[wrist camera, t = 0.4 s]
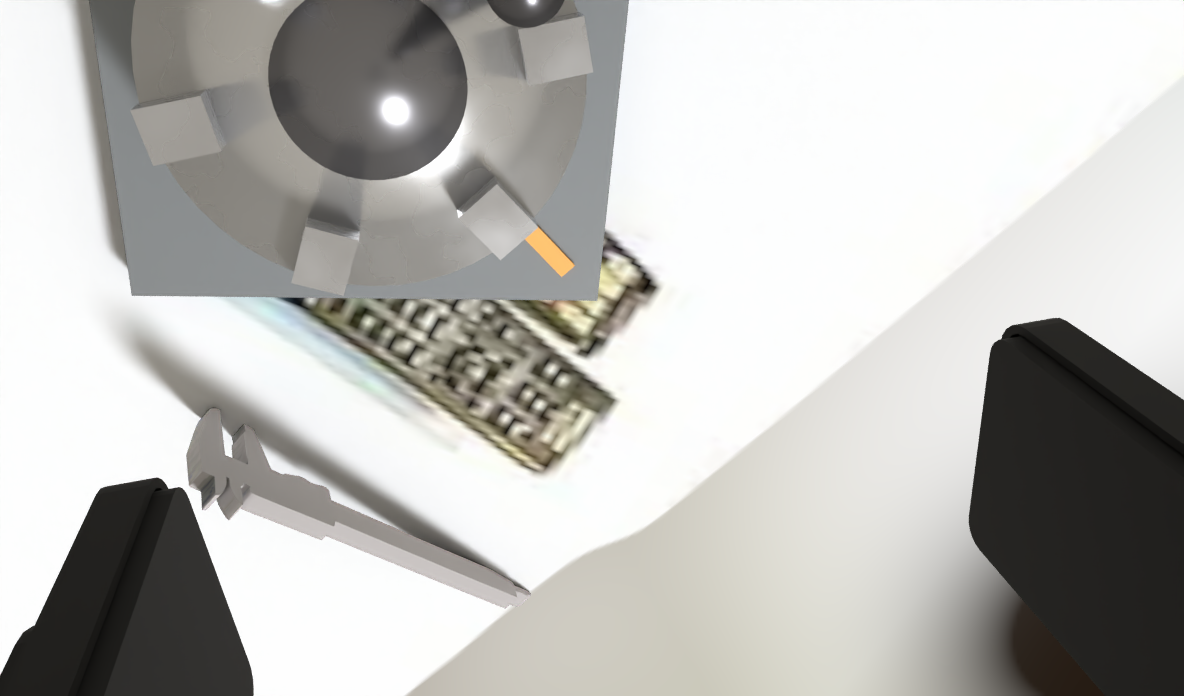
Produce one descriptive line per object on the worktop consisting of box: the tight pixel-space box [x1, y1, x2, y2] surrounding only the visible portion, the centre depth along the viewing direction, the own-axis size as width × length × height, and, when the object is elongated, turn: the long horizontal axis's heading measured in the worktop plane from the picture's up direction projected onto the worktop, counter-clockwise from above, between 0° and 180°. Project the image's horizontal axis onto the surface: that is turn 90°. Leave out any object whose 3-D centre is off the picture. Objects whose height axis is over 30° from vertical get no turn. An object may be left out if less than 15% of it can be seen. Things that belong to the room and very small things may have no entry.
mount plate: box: [89, 0, 629, 301], centre depth 37 cm, size 20×20×2 cm
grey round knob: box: [130, 0, 593, 296], centre depth 32 cm, size 16×16×10 cm
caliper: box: [186, 408, 531, 609], centre depth 46 cm, size 20×1×6 cm, turn 46°
